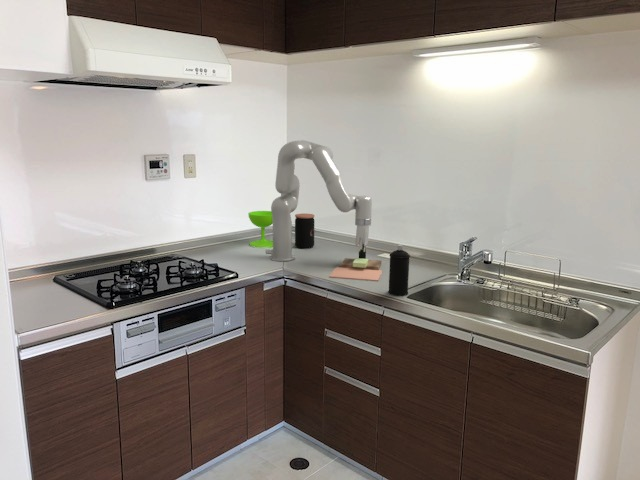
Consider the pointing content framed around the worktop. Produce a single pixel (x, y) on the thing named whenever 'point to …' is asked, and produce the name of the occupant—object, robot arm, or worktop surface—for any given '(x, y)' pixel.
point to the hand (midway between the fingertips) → (362, 259)
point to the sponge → (360, 262)
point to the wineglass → (262, 221)
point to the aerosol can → (399, 272)
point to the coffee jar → (304, 231)
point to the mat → (356, 274)
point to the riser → (371, 265)
